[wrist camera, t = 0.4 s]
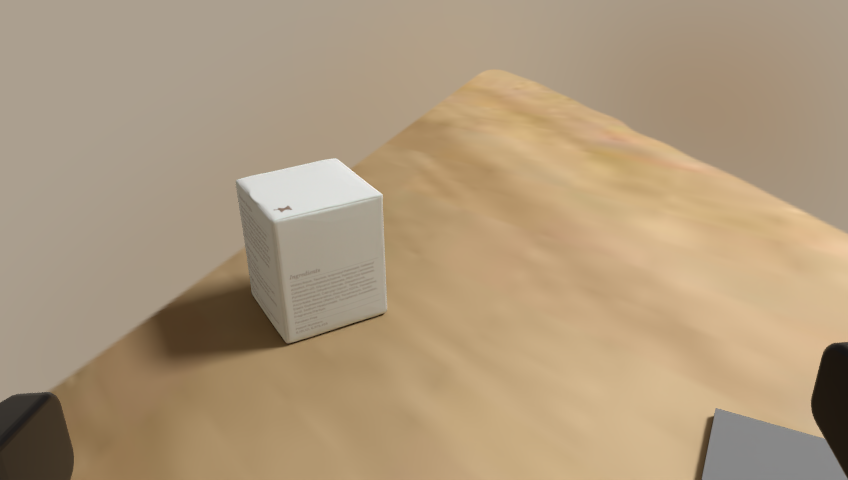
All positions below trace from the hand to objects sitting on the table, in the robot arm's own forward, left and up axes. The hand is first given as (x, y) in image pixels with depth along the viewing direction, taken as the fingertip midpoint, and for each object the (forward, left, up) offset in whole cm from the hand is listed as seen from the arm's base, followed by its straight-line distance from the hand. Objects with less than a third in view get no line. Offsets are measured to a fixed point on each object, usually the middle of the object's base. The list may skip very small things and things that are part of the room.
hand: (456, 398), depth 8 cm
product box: (+28, +2, -17) cm, 32 cm away
